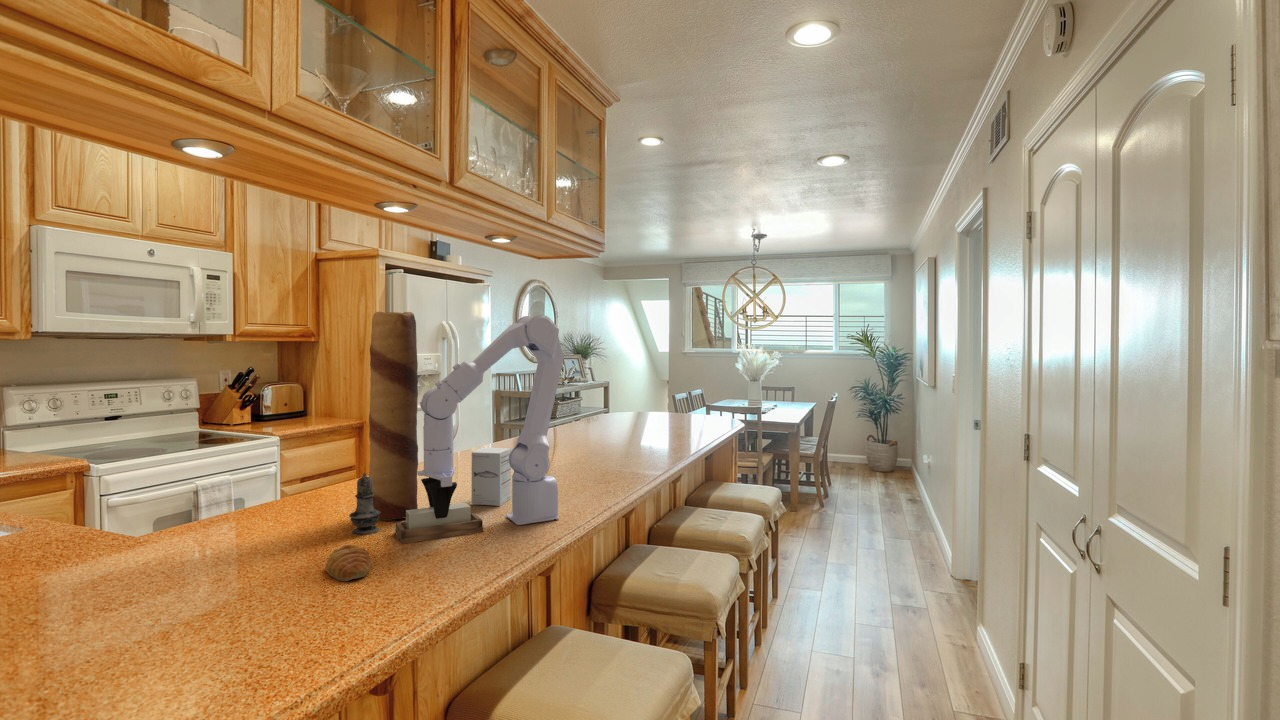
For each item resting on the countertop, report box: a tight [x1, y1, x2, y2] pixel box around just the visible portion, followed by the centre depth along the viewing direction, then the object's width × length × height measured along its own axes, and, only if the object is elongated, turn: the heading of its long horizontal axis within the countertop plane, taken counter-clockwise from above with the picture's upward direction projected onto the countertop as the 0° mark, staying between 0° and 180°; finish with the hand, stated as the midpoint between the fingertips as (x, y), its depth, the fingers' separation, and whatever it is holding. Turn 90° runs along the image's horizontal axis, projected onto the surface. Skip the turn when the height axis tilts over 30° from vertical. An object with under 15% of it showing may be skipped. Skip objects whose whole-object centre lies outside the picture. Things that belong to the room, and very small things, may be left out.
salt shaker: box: [348, 472, 381, 536], centre depth 127 cm, size 6×6×12 cm
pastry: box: [325, 544, 372, 582], centre depth 105 cm, size 9×7×4 cm
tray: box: [394, 511, 484, 545], centre depth 127 cm, size 16×8×2 cm, turn 120°
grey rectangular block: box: [405, 502, 472, 530], centre depth 127 cm, size 12×4×4 cm, turn 120°
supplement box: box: [471, 447, 512, 507], centre depth 150 cm, size 7×7×13 cm
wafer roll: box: [368, 311, 419, 521], centre depth 138 cm, size 10×11×45 cm
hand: (439, 515), depth 127 cm, fingers closed on grey rectangular block, 3 cm apart
